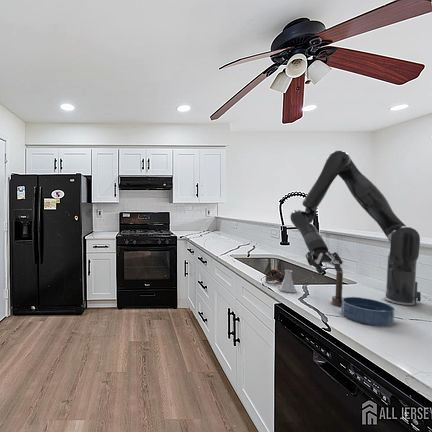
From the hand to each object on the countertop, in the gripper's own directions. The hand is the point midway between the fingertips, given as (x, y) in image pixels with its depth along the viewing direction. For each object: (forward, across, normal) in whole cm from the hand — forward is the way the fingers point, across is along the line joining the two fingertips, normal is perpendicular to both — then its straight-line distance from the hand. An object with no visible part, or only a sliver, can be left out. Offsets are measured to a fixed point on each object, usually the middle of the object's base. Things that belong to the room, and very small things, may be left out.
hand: (331, 273), depth 122 cm
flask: (-1, -11, +19) cm, 22 cm away
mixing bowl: (+22, 0, -5) cm, 23 cm away
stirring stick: (+12, 0, +5) cm, 13 cm away
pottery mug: (-11, -10, +29) cm, 32 cm away
